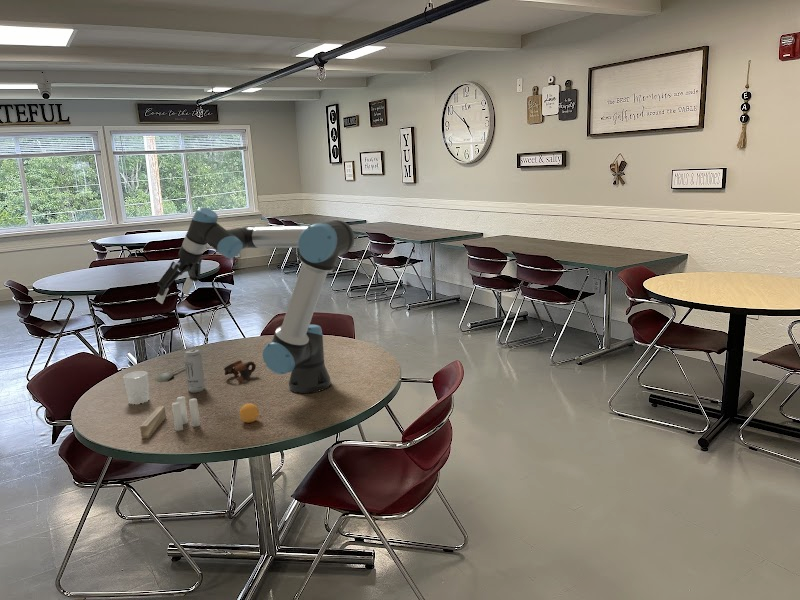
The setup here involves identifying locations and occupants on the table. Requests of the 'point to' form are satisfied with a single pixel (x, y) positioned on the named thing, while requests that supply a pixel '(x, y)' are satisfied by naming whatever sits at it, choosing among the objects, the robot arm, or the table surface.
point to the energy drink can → (194, 370)
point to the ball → (249, 412)
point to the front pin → (194, 412)
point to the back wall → (153, 422)
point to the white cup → (137, 386)
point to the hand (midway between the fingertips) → (172, 297)
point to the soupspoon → (166, 376)
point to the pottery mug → (240, 370)
